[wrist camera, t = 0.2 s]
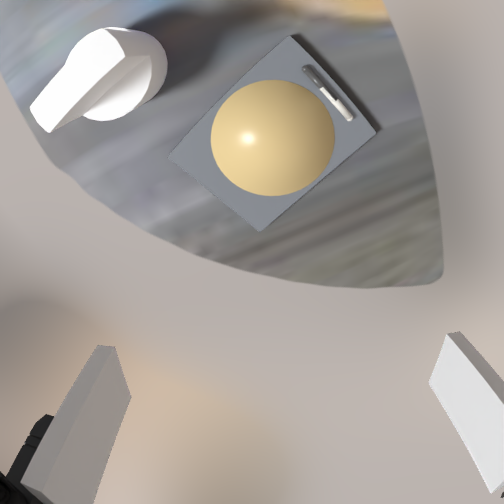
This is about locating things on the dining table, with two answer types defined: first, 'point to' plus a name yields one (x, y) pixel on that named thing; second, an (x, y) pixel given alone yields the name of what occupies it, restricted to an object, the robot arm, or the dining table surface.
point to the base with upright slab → (103, 78)
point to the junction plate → (272, 135)
